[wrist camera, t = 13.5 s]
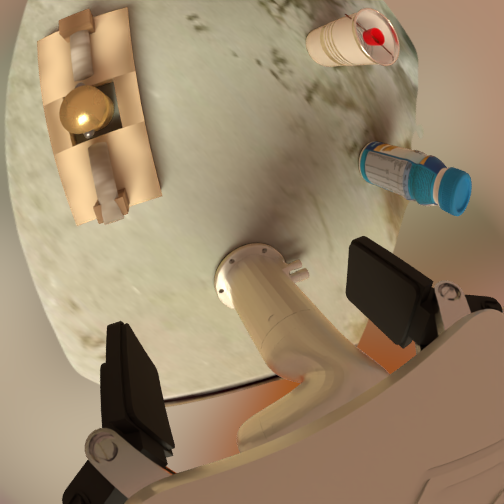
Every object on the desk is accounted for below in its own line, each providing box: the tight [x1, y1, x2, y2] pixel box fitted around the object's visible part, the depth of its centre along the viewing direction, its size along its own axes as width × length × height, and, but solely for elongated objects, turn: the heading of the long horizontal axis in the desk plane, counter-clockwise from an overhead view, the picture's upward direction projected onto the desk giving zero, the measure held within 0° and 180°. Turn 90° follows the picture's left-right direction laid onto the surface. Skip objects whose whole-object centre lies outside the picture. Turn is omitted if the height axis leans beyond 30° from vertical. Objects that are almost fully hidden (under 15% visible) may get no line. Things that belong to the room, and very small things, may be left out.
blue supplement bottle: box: [359, 141, 472, 216], centre depth 37 cm, size 8×8×20 cm
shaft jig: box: [37, 7, 162, 226], centre depth 22 cm, size 12×26×8 cm, turn 9°
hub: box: [59, 82, 114, 138], centre depth 22 cm, size 5×6×8 cm
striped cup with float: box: [306, 8, 400, 67], centre depth 27 cm, size 10×8×12 cm
